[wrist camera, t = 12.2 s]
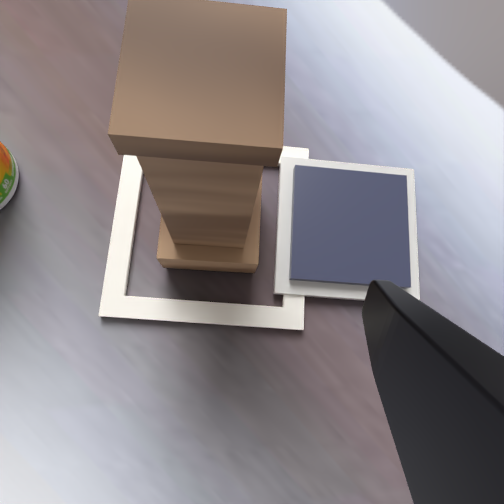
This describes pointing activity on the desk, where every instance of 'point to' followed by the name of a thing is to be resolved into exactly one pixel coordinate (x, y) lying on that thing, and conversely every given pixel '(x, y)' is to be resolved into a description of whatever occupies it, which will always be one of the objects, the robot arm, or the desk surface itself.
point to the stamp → (202, 122)
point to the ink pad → (344, 229)
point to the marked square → (172, 309)
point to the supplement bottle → (7, 175)
